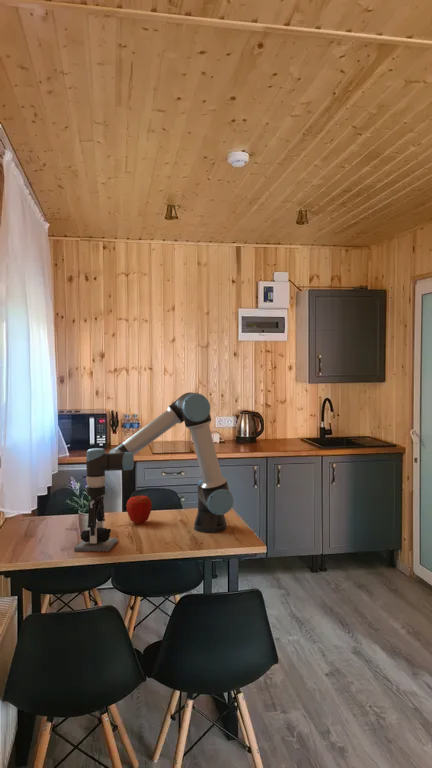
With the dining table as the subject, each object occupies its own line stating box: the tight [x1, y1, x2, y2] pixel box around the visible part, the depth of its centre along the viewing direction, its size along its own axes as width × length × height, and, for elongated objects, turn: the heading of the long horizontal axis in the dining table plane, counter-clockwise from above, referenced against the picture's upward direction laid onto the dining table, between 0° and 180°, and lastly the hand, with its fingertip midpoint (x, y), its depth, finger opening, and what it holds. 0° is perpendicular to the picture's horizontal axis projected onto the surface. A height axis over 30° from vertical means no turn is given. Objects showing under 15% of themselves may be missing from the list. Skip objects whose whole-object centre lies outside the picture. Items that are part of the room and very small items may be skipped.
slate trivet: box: [74, 537, 118, 553], centre depth 234 cm, size 14×14×2 cm
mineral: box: [79, 527, 112, 543], centre depth 233 cm, size 10×9×6 cm
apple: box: [125, 494, 153, 525], centre depth 269 cm, size 12×12×14 cm
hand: (96, 539), depth 234 cm, fingers closed on mineral, 8 cm apart
